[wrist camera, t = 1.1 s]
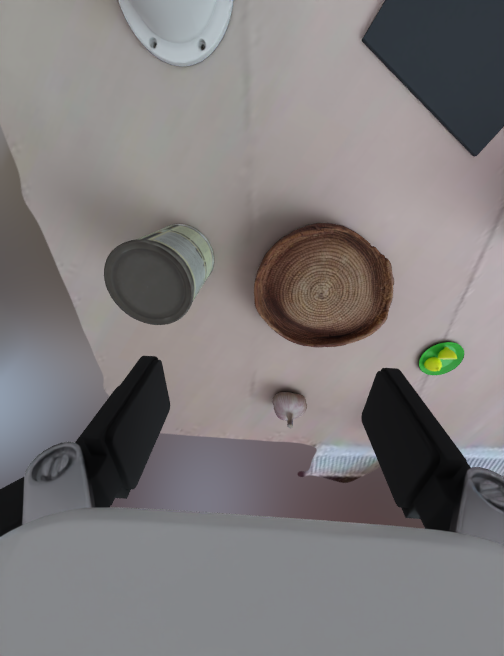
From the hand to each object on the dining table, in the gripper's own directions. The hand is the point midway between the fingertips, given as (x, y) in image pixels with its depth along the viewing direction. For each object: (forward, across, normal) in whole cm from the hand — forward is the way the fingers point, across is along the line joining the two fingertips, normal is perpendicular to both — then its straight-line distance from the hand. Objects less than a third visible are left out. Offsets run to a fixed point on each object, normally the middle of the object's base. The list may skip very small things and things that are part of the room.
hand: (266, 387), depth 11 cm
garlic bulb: (+32, -7, +34) cm, 47 cm away
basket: (+32, -10, +7) cm, 34 cm away
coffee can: (+32, +14, +2) cm, 35 cm away
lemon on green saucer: (+32, -35, +20) cm, 52 cm away
